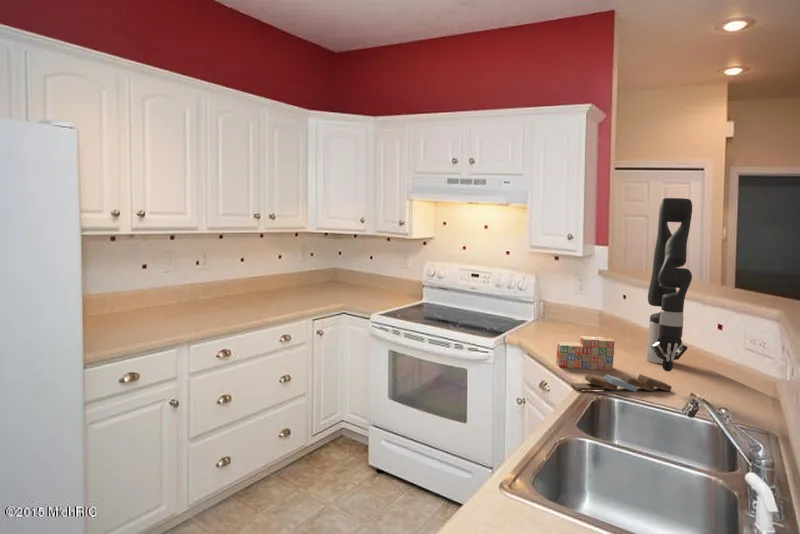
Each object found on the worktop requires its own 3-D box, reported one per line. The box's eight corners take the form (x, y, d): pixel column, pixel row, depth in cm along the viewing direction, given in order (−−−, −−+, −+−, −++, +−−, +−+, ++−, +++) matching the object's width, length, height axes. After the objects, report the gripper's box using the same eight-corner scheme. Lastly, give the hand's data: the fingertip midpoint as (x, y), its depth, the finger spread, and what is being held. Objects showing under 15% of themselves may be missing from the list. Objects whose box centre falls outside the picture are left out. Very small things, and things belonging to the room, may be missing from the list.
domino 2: (630, 382, 193) (606, 374, 192) (637, 386, 188) (612, 378, 187) (628, 387, 193) (604, 379, 192) (635, 392, 188) (610, 383, 187)
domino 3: (646, 382, 193) (622, 373, 192) (654, 386, 188) (629, 377, 187) (644, 387, 193) (620, 378, 192) (652, 391, 188) (627, 383, 187)
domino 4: (663, 382, 194) (639, 374, 193) (671, 386, 189) (647, 378, 188) (661, 387, 194) (637, 379, 193) (669, 391, 189) (645, 383, 188)
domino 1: (612, 381, 193) (586, 373, 192) (617, 385, 188) (591, 377, 187) (610, 386, 193) (584, 378, 193) (615, 391, 188) (589, 382, 188)
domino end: (598, 383, 192) (571, 383, 191) (604, 387, 187) (577, 387, 186) (597, 388, 192) (571, 388, 192) (604, 393, 187) (576, 393, 187)
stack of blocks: (558, 367, 217) (560, 338, 215) (555, 363, 223) (557, 334, 222) (612, 370, 214) (615, 340, 213) (608, 366, 221) (610, 337, 219)
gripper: (659, 325, 185) (655, 373, 187) (695, 325, 186) (691, 374, 188) (647, 321, 192) (644, 367, 194) (682, 321, 193) (678, 367, 195)
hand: (667, 370), depth 191 cm, fingers closed
